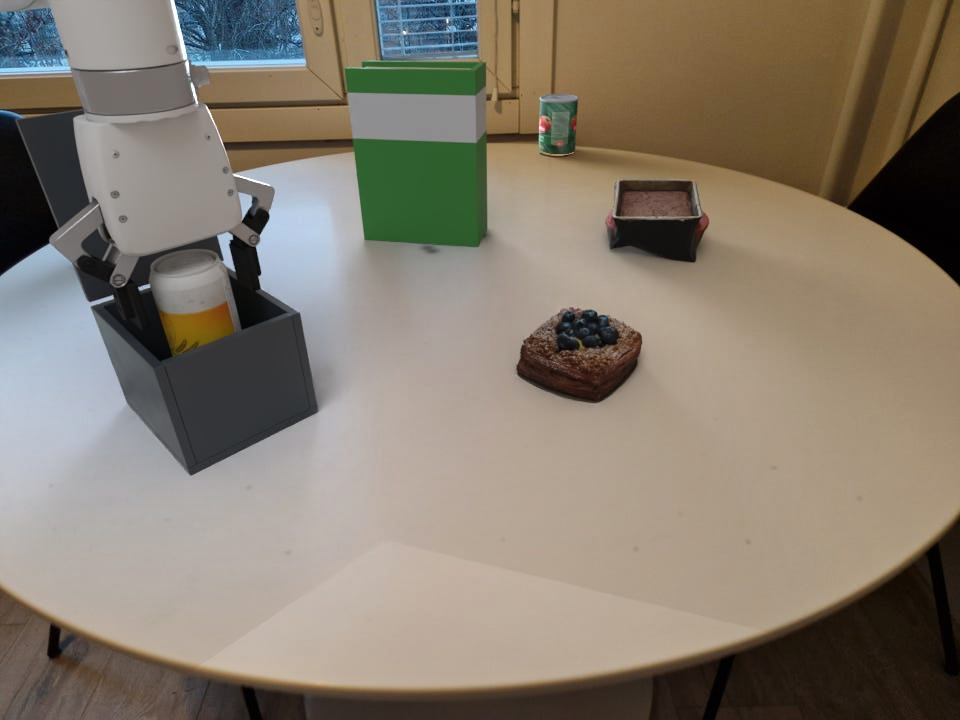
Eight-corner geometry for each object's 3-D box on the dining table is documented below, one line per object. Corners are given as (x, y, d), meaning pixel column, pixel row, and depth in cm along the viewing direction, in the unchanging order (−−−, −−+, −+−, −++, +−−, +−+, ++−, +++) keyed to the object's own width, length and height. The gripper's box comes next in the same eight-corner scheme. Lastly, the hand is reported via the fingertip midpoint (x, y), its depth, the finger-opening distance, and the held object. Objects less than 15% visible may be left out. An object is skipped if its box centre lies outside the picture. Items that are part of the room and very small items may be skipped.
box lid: (178, 95, 57) (155, 92, 61) (16, 119, 50) (1, 114, 53) (224, 260, 65) (201, 249, 68) (89, 302, 57) (71, 287, 61)
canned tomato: (582, 153, 138) (586, 98, 132) (552, 158, 134) (554, 102, 128) (560, 145, 143) (563, 92, 137) (530, 150, 140) (532, 96, 134)
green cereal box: (364, 239, 98) (344, 68, 86) (380, 222, 105) (363, 60, 92) (478, 246, 95) (475, 70, 83) (487, 228, 102) (485, 62, 89)
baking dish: (593, 270, 93) (603, 208, 86) (611, 210, 105) (621, 152, 98) (696, 289, 90) (715, 225, 83) (702, 225, 102) (718, 165, 96)
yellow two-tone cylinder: (191, 396, 63) (146, 253, 55) (256, 383, 65) (222, 242, 57) (191, 433, 58) (142, 282, 50) (261, 418, 60) (224, 269, 52)
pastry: (504, 377, 66) (504, 327, 63) (558, 328, 75) (561, 282, 72) (602, 412, 61) (608, 360, 58) (649, 355, 70) (657, 306, 66)
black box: (318, 411, 62) (300, 312, 56) (190, 475, 55) (153, 369, 49) (246, 354, 71) (223, 264, 65) (127, 403, 64) (89, 306, 58)
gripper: (228, 70, 54) (267, 261, 63) (-15, 102, 43) (74, 324, 53) (273, 81, 49) (308, 285, 58) (14, 119, 39) (106, 359, 48)
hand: (197, 303), depth 55 cm, fingers open, 9 cm apart
